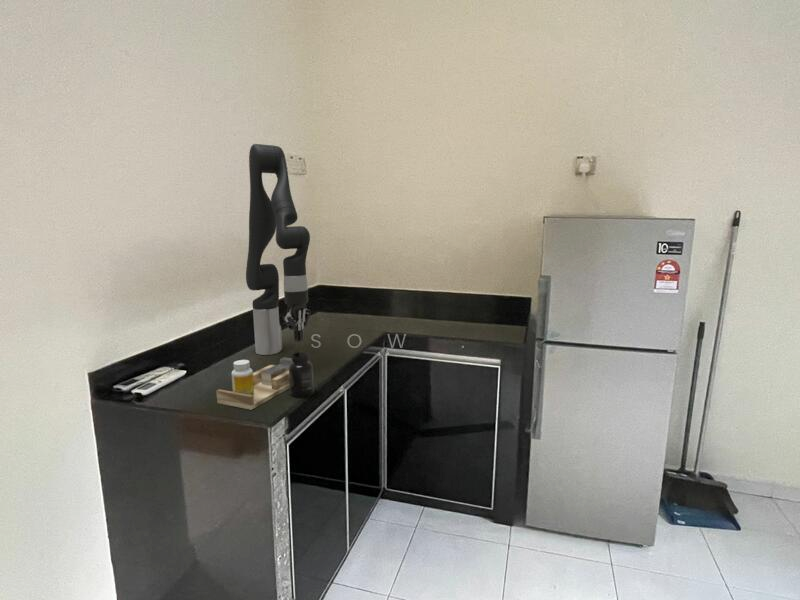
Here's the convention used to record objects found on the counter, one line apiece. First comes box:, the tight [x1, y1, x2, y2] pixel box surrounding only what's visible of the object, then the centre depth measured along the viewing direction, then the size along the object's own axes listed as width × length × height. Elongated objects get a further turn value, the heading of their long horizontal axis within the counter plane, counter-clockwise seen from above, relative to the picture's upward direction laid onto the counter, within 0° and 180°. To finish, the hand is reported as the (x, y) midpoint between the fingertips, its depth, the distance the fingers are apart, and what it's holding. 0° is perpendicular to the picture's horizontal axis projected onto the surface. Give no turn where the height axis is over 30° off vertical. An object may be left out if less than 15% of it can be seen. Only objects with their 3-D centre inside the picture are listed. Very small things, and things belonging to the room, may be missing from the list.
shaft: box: [261, 357, 293, 386], centre depth 149 cm, size 12×5×5 cm, turn 157°
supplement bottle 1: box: [231, 359, 254, 396], centre depth 135 cm, size 6×6×10 cm
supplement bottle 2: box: [289, 351, 315, 399], centre depth 140 cm, size 7×7×12 cm
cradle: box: [215, 364, 290, 411], centre depth 142 cm, size 23×12×4 cm, turn 157°
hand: (298, 340), depth 158 cm, fingers closed
